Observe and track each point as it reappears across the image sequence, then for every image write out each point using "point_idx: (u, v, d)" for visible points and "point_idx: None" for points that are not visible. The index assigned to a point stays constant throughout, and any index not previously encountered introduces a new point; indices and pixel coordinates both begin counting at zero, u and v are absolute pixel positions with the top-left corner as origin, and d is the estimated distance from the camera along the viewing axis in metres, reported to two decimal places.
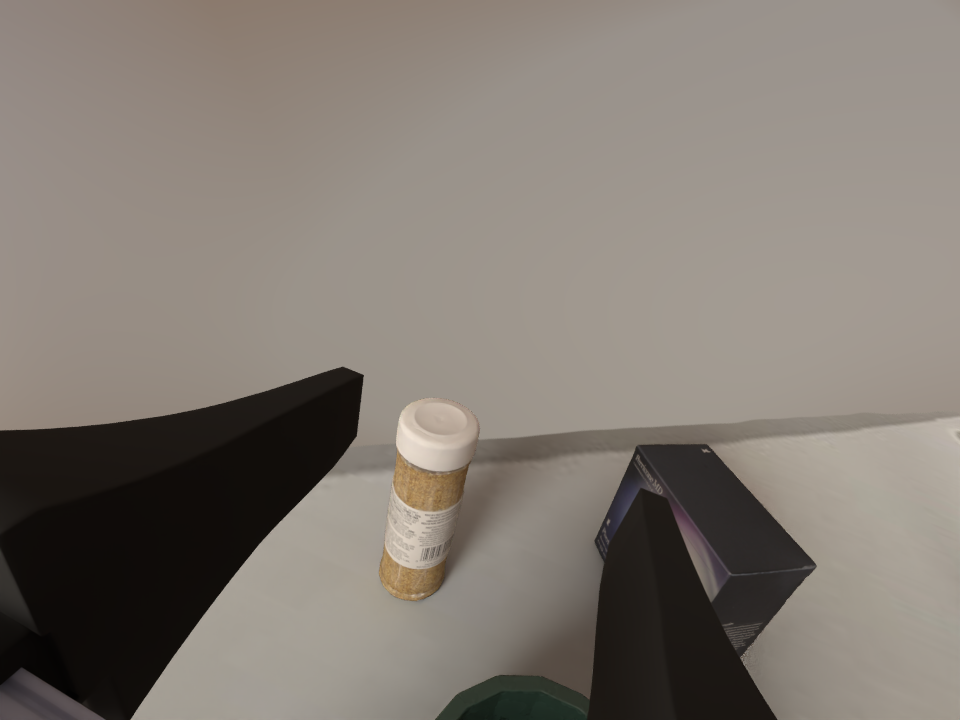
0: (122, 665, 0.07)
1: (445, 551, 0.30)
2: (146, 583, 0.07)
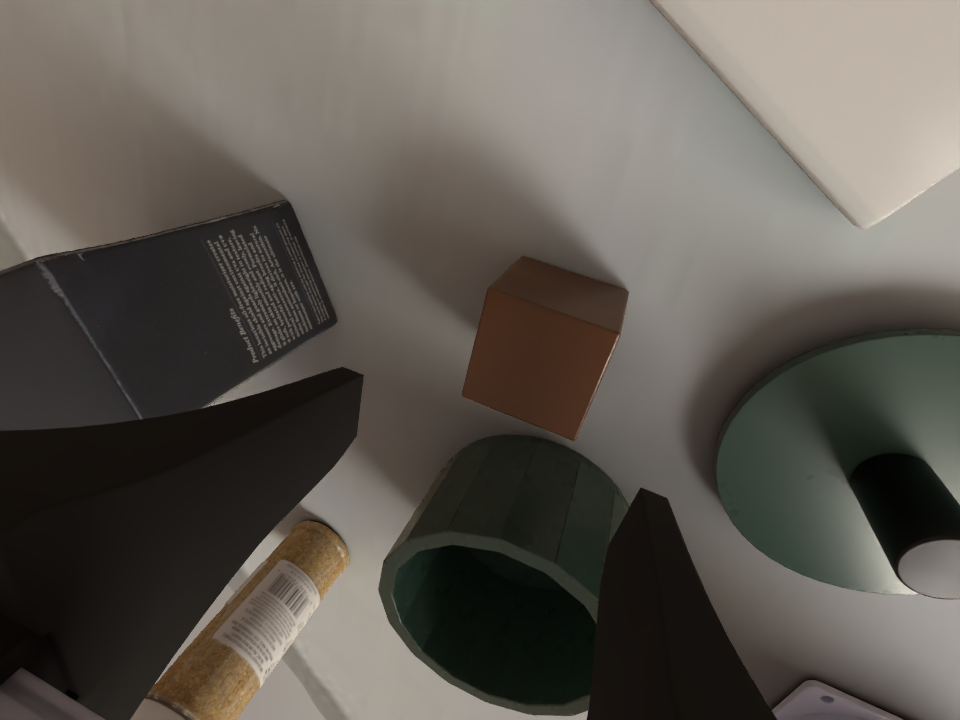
0: (122, 665, 0.07)
1: (290, 580, 0.27)
2: (146, 583, 0.07)
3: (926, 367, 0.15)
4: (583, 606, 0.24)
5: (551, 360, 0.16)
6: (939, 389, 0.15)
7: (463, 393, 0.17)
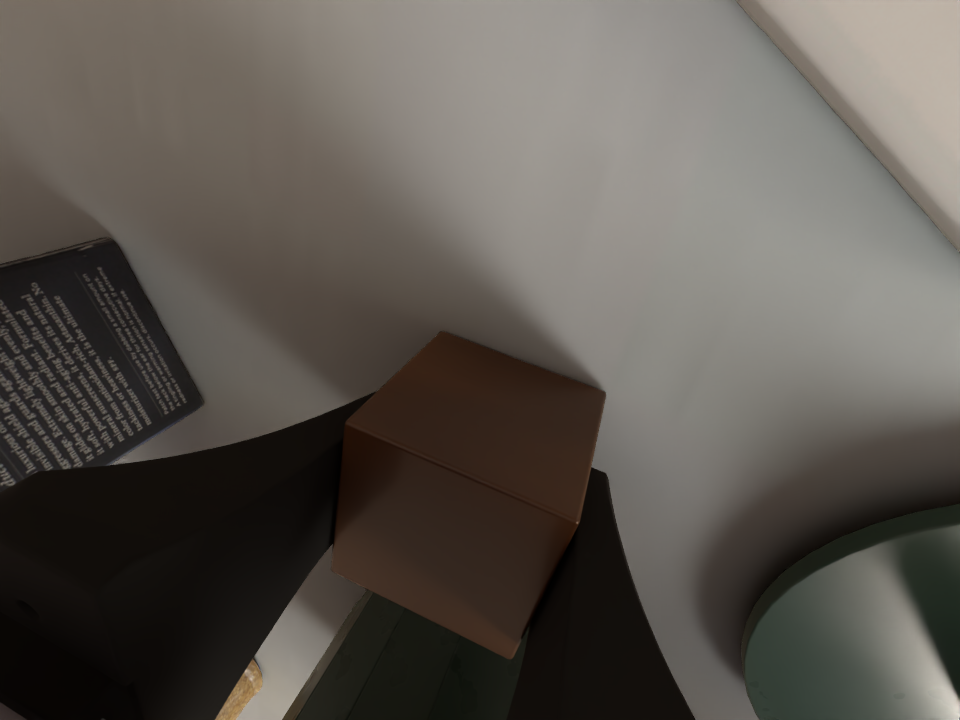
0: (189, 705, 0.07)
1: None
2: (216, 621, 0.07)
3: None
4: None
5: (462, 544, 0.09)
6: None
7: (333, 568, 0.11)
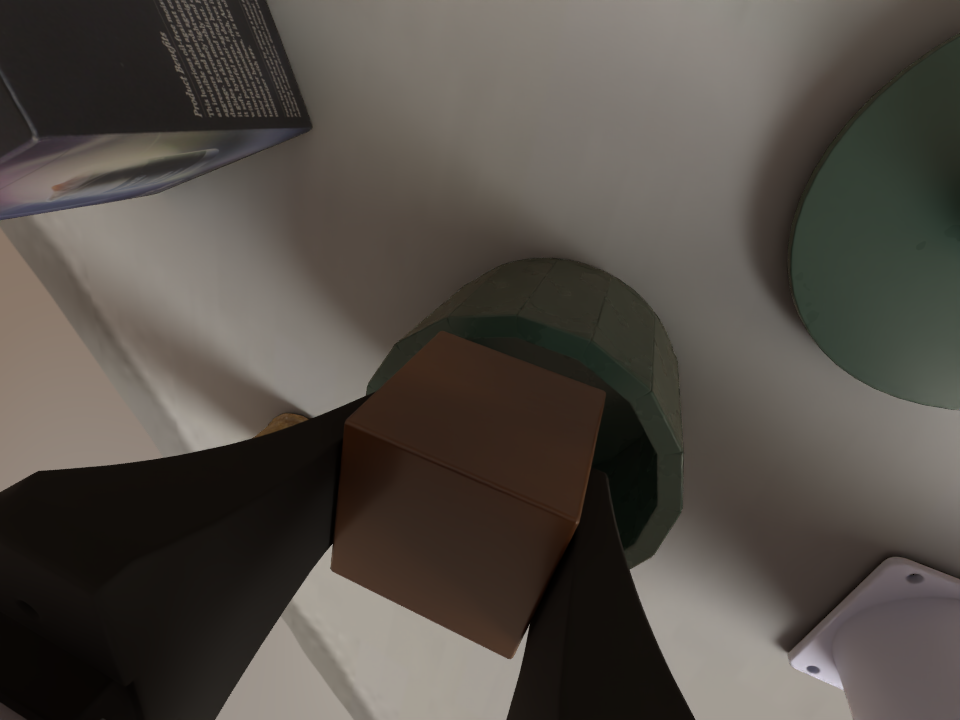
0: (189, 705, 0.07)
1: None
2: (216, 621, 0.07)
3: None
4: (613, 474, 0.20)
5: (462, 544, 0.09)
6: None
7: (332, 568, 0.11)
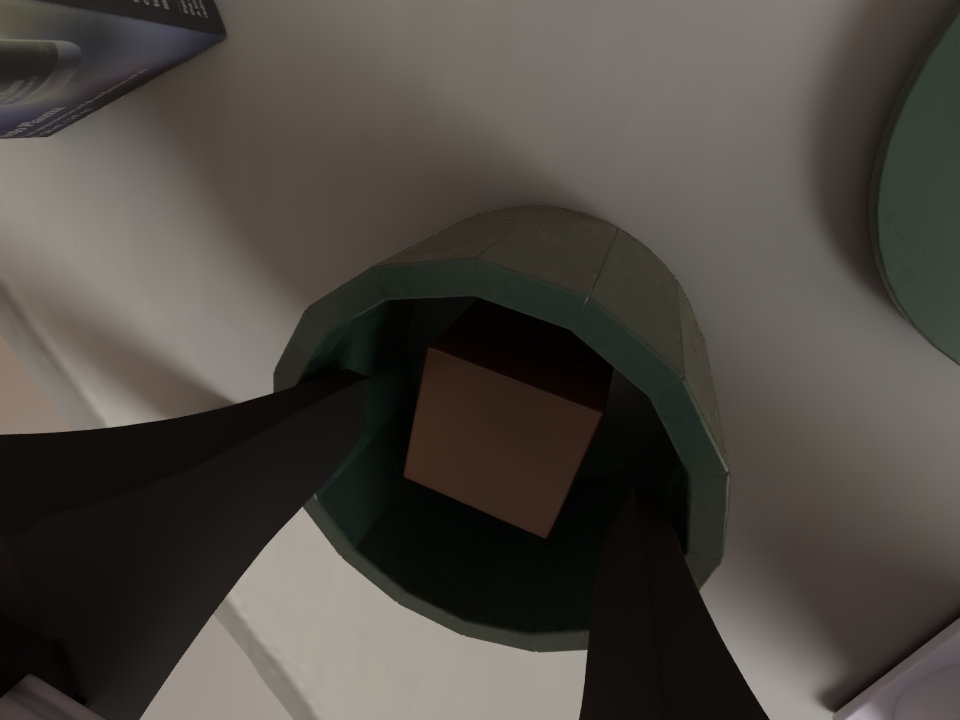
0: (129, 669, 0.07)
1: None
2: (153, 587, 0.07)
3: None
4: (618, 492, 0.15)
5: (513, 441, 0.12)
6: None
7: (405, 473, 0.13)
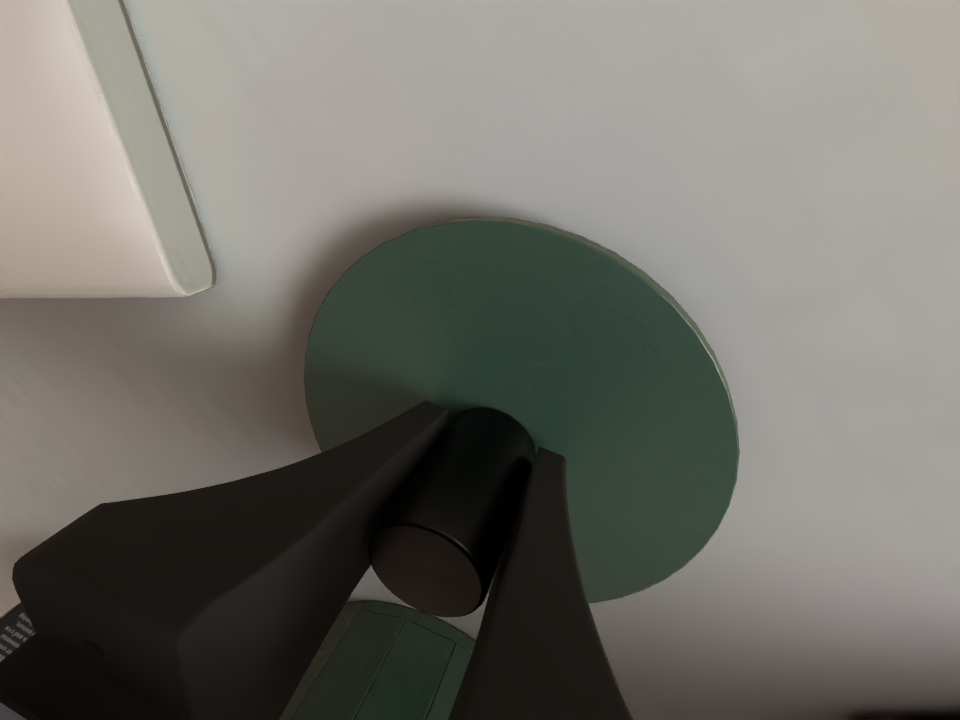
0: None
1: None
2: (272, 652, 0.07)
3: (355, 334, 0.12)
4: None
5: None
6: (386, 340, 0.12)
7: None
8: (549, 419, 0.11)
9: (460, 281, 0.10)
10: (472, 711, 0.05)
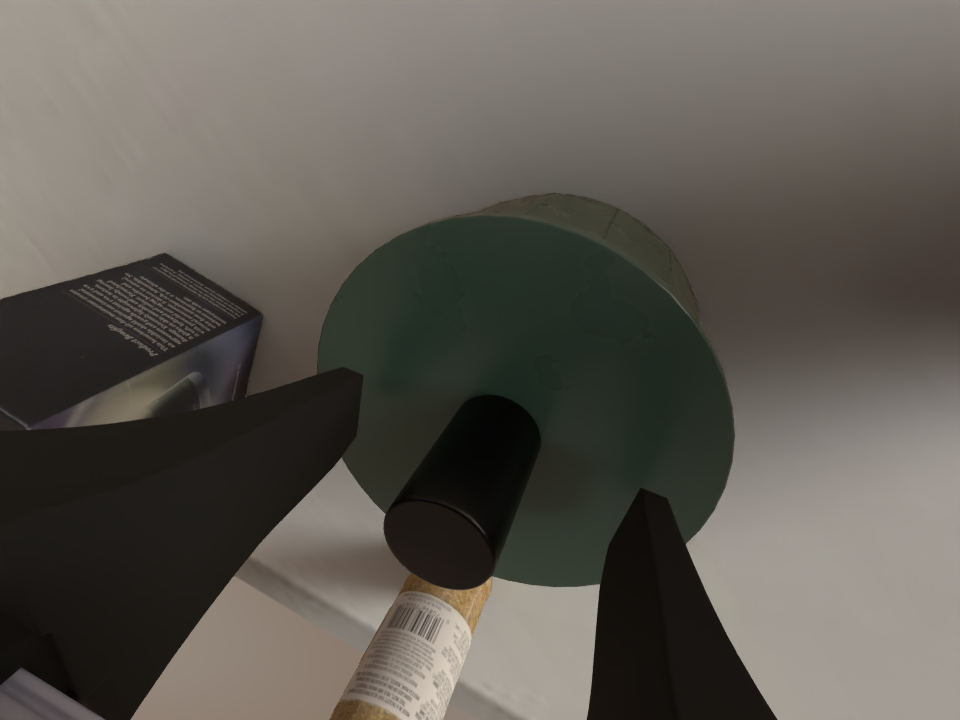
0: (122, 665, 0.07)
1: (409, 606, 0.22)
2: (146, 583, 0.07)
3: (367, 325, 0.12)
4: None
5: None
6: (397, 331, 0.12)
7: None
8: (553, 406, 0.12)
9: (469, 273, 0.11)
10: None
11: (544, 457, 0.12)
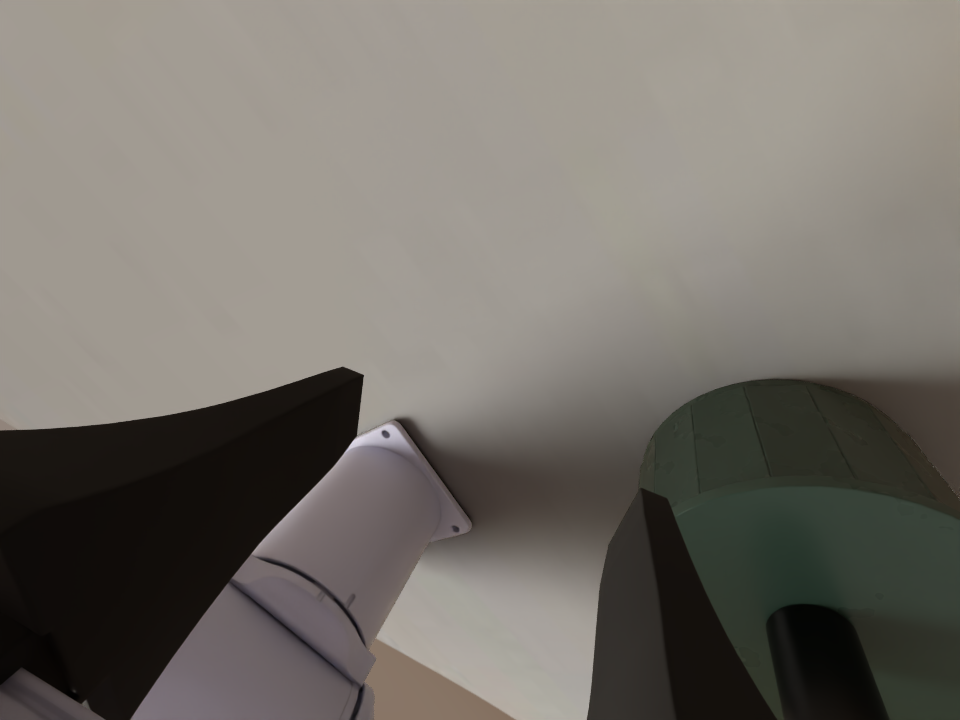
0: (122, 665, 0.07)
1: None
2: (146, 583, 0.07)
3: (917, 719, 0.15)
4: None
5: None
6: None
7: None
8: (749, 639, 0.16)
9: None
10: None
11: (767, 608, 0.15)
